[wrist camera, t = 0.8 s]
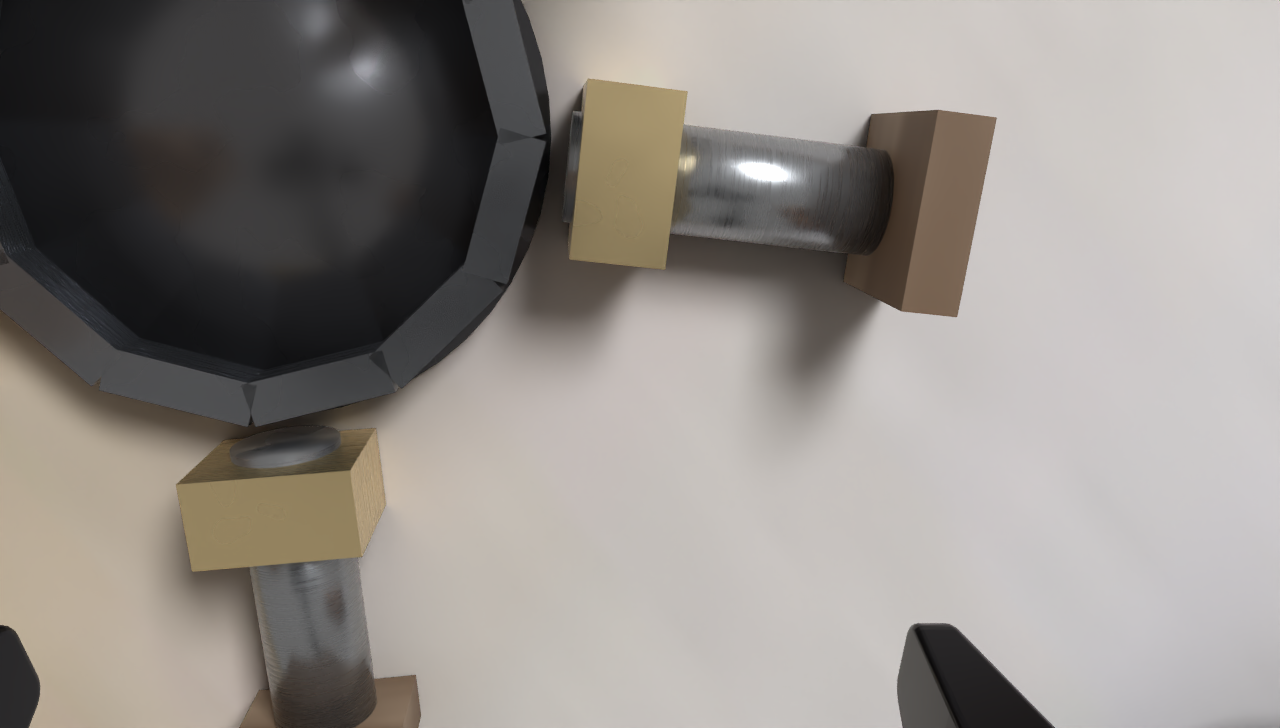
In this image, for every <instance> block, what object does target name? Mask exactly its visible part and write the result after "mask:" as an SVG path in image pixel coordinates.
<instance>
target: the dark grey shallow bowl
mask: <svg viewBox="0 0 1280 728" xmlns="http://www.w3.org/2000/svg"><path fill="white" fill-rule="evenodd" d="M550 145H551V128H550V110H549V96H548V91H547V86H546V80H545V75H544V69H543V64H542V58H541V55H540V52H539V49H538V45H537V42H536V39H535V36H534V33H533V30H532V26H531V23H530V20H529V17H528V15H527V13H526V11H525V9H524V6H523V4H522V2H521V0H0V310H2V311H3V312H4V313H5V314H6V315H8V316H9V317H10V318H11V319H12V320H13V321H15V322H16V323H17V324H18V325H19V326H21V327H22V328H23V329H24V330H25V331H27V332H28V333H29V334H30V335H31V336H32V337H34V338H35V339H36V340H37V341H38V342H40V343H41V344H42V345H43V346H44V347H45V348H47V349H48V350H49V351H50V352H51V353H53V354H54V355H55V356H56V357H57V358H59V359H60V360H61V361H62V362H63V363H64V364H66V365H67V366H68V367H69V368H70V369H72V370H73V371H74V372H75V373H76V374H77V375H79V376H80V377H81V378H82V379H83V380H85V381H86V382H87V383H88V384H89V385H91V386H93V385H95V384H97V383H98V382H100V381H101V382H100V387H99V390H100V391H104V392H108V393H112V394H116V395H120V396H124V397H128V398H132V399H136V400H140V401H145V402H149V403H153V404H157V405H161V406H165V407H169V408H173V409H177V410H181V411H185V412H189V413H193V414H197V415H201V416H205V417H209V418H213V419H217V420H221V421H225V422H229V423H233V424H238V425H242V426H246V427H248V426H249V425H250V424H251V423H252V422H254V424H255V427H257V426H261V425H265V424H269V423H273V422H277V421H281V420H286V419H290V418H294V417H298V416H302V415H306V414H310V413H314V412H318V411H323V410H328V409H334V408H339V407H343V406H346V405H350V404H353V403H356V402H359V401H362V400H366V399H370V398H374V397H378V396H382V395H386V394H390V393H394V392H396V390H397V389H398V387H400V388H403V387H404V386H405V385H406V384H407V383H408V382H409V381H410V380H411V379H413V378H414V377H416V376H417V375H419V374H420V373H422V372H424V371H425V370H427V369H428V368H430V367H431V366H433V365H435V364H436V363H438V362H439V361H441V360H442V359H443V358H444V357H445V356H446V355H448V354H449V353H450V352H451V351H452V350H454V349H455V348H456V347H457V346H458V345H459V344H461V343H462V342H463V341H464V340H465V339H467V338H468V336H469V335H470V334H471V333H472V332H473V331H474V330H475V329H476V328H477V327H478V325H479V324H480V323H481V322H482V321H483V320H484V319H485V318H486V317H487V316H488V314H489V313H490V312H491V311H492V309H493V308H494V307H495V305H496V304H497V302H498V301H499V299H500V298H501V296H502V295H503V293H504V292H505V291H506V289H507V288H508V286H509V285H510V283H511V282H512V280H513V278H514V276H515V274H516V272H517V270H518V268H519V266H520V264H521V262H522V260H523V258H524V256H525V254H526V252H527V250H528V248H529V245H530V242H531V239H532V236H533V234H534V231H535V228H536V225H537V222H538V219H539V216H540V213H541V209H542V204H543V199H544V194H545V189H546V184H547V179H548V172H549V159H550Z"/></svg>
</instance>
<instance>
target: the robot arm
mask: <svg viewBox="0 0 1280 728" xmlns="http://www.w3.org/2000/svg"><path fill="white" fill-rule="evenodd" d="M897 695H898V703H899V709H900V715H901V721H902V726H903V728H1055V727H1054V726H1053V725H1052V724H1051V723H1050V722H1049V721H1048V720H1047V719H1046V718H1045V717H1044V716H1043V715H1042V714H1041V713H1040V712H1039V711H1038V710H1037V709H1036V708H1035V707H1034V706H1033V705H1032V704H1031V703H1030V702H1029V701H1028V700H1027V699H1026V698H1025V697H1024V696H1023V695H1022V694H1021V693H1020V692H1019V691H1018V690H1017V689H1016V688H1015V687H1014V686H1013V685H1012V684H1011V683H1010V682H1009V681H1008V680H1007V679H1006V677H1005V676H1004V675H1003V674H1002V673H1001V672H1000V671H999V670H998V669H997V668H996V667H995V666H994V665H993V664H992V663H991V662H990V661H989V660H988V659H987V658H986V657H985V656H984V655H983V654H982V653H981V652H980V651H979V650H978V649H977V648H976V647H975V646H974V645H973V644H972V643H971V642H970V641H969V640H968V639H967V638H966V637H965V636H964V635H963V634H962V633H961V632H960V631H959V630H958V629H957V628H956V627H954V626H952V625H950V624H946V623H917V624H914V625H912V626H911V627H910V629H909V631H908V633H907V637H906V642H905V646H904V651H903V656H902V660H901V665H900V669H899V674H898V680H897ZM39 696H40V682H39V678H38V675H37V673H36V671H35V669H34V667H33V665H32V663H31V661H30V659H29V657H28V655H27V653H26V651H25V649H24V647H23V645H22V643H21V641H20V639H19V637H18V635H17V633H16V632H15V631H14V630H13V629H12V628H10V627H9V626H4V625H0V728H29V726H30V723H31V720H32V718H33V715H34V713H35V710H36V708H37V705H38V701H39Z"/></svg>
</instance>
